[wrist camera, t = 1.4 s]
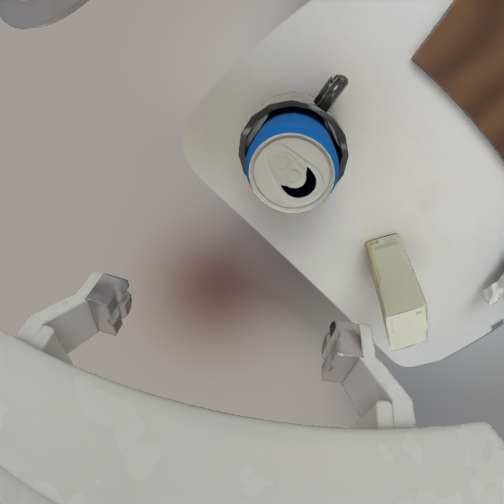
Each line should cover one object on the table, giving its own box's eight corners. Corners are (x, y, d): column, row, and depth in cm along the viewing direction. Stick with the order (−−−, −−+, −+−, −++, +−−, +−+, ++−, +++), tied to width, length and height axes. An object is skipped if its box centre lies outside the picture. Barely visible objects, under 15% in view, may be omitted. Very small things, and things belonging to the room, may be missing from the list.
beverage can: (289, 174, 31) (282, 234, 22) (249, 128, 29) (221, 166, 19) (339, 141, 28) (360, 187, 19) (300, 90, 26) (300, 106, 16)
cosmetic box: (364, 241, 35) (383, 315, 25) (398, 231, 33) (428, 303, 24) (373, 279, 38) (388, 353, 28) (404, 270, 37) (427, 343, 27)
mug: (306, 186, 32) (307, 220, 26) (237, 144, 31) (220, 168, 25) (371, 99, 26) (392, 111, 19) (298, 50, 24) (298, 45, 18)
